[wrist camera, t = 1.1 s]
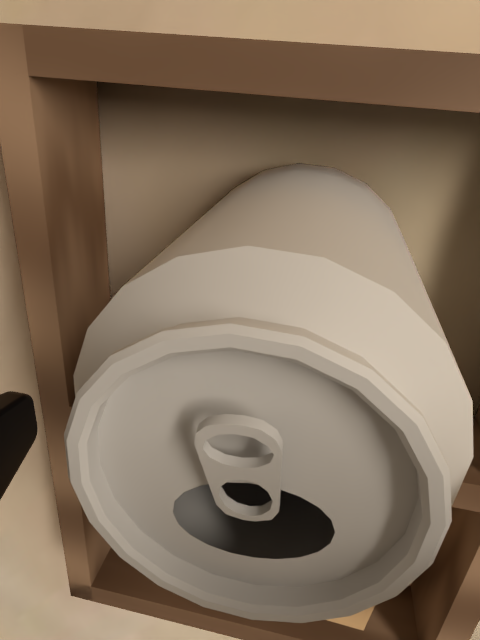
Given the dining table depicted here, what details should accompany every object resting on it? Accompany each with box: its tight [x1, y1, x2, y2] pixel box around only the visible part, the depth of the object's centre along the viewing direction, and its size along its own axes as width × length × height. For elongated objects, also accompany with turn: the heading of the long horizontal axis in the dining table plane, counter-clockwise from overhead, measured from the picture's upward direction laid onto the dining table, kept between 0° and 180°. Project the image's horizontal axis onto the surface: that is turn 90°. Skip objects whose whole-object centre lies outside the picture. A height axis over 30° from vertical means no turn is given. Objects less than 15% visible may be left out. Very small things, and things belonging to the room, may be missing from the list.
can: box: [64, 163, 473, 623], centre depth 12 cm, size 8×8×12 cm
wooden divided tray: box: [0, 23, 480, 640], centre depth 18 cm, size 25×18×4 cm
